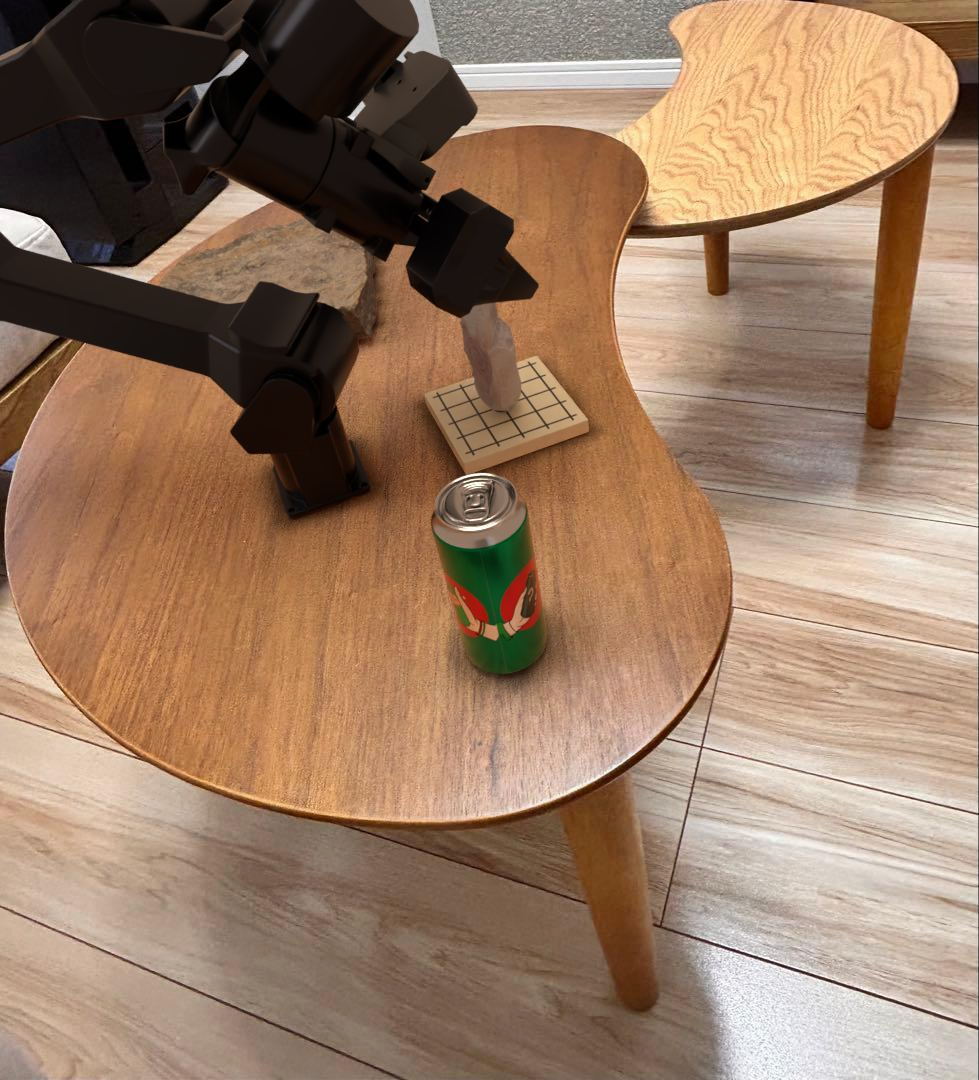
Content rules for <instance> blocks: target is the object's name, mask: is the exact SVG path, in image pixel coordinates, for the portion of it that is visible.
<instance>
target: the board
mask: <svg viewBox="0 0 979 1080" xmlns="http://www.w3.org/2000/svg"><path fill="white" fill-rule="evenodd" d="M516 364H517V367H518V371H519V376H520V379H521V395H520V398H519V400H518V402H517V403H516V404H515V405H514V406H513V407H512V408H511V409H510V410H509V411H497V410H492V409H491V408H490V407H488V406H487V405H486V404H485V403H484V402H483V401H482V400H481V398H480V397H479V395H478V393H477V391H476V388H475V384H474V380H475V379H474V377H473V376H472V377H469V378H466V379H463V380H460V381H458V382H455V383H452V384H448V385H445V386H443V387H440V388H436V389H434V390H431V391H427V392H425V393H424V394H423V396H424V400H425V405H426V407H427V409H428V411H429V412H430V414H431V416H432V418H433V419H434V421H435V423H436V425H437V427H438V428H439V430H440V432H441V434H442V435H443V437H444V439H445V440H446V443H447V444H448V446H449V447H450V449H451V451H452V453H453V455H454V456H455V458H456V460H457V462H458V463H459V465H460V467H461V469H462V471H463V472H464V475H469V474H474V473H479V472H480V471H483V470H486V469H488V468H491V467H495V466H497V465H500V464H503V463H506V462H508V461H511V460H514V459H517V458H520V457H522V456H525V455H528V454H532V453H533V452H536V451H539V450H542V449H545V448H548V447H550V446H554V445H556V444H559V443H561V442H564V441H567V440H569V439H573V438H577V437H579V436H582V435H585V434H587V433H589V432H590V427H589V419H588V417H587V416H586V415H585V414H584V412H583V411H582V410H581V409H580V408H579V406H578V405H577V404H576V402H575V401H574V400H573V398H572V397H571V396H570V395H569V394H568V392H567V391H566V390H565V389H564V387H563V386H562V385H561V384H560V382H559V381H558V380H557V378H555V376H554V375H553V374H552V372H551V371H550V370H549V368H547V366H546V365H545V364H544V362H543V361H542V360H541V358H540V357H539V356H538V355H534V356H531V357H528V358H526V359H522V360H519V361H516Z"/></svg>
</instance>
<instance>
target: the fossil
mask: <svg viewBox="0 0 979 1080" xmlns="http://www.w3.org/2000/svg"><path fill="white" fill-rule="evenodd" d="M498 311H499V310H498V307H497V303H489V304H483V305H478V306H473V308H472V310H471V312H470V313H469V314H468V315H466V316H464V317H462V318H460V321H459V325H460V328H461V331H462V332H461V334H462V341H463V351H464V353H465V355H466V357H467V360H468V362H469V363H468V364H469V365H470V367H471V369H472V370H471V371H472V377H474V379H475V380H474V384H475V388H476V391H477V393H478V395H479V397H480V398H481V400H482V401H483V402H484V403H485V404H486V405H487V406H488V407H490V408H491V409H492V410H497V411H509V410H510V409H511V408H512V407H513V406H514V405H515V404H516V403H517V402H518V400H519V398H520V395H521V379H520V376H519V371H518V367H517V364H516V362H517V355H516V345H515V338H514V336H513V332H512V331H511V328H510V326H509V325H508V324H507V323H506V322H505V321H504V320H503V317H501V316H499V313H498Z"/></svg>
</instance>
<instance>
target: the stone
mask: <svg viewBox="0 0 979 1080" xmlns="http://www.w3.org/2000/svg"><path fill="white" fill-rule="evenodd" d="M375 273H376V263H375V257H374V256H372V255H371V254H370V253H369V252H368V251H366V250H365V249H364V248H363V247H362V246H360V245H359V244H358V243H356V242H354V241H352V240H350V239H348V238H346V237H344V236H342V235H340V234H338V233H336V232H334V231H332V230H331V232H330V234H328V233H326V232H324V231H322V230H320V229H318V228H316V227H314V226H313V225H312V224H311V223H310V222H309V221H307V220H306V219H305V218H304V217H303V218H300V219H297V220H294V221H292V222H290V223H289V224H273V225H269V226H265V228H262V229H254V230H250V231H245V233H243V234H242V235H240V236H239V237H236V238H235V239H234V240H233V241H231V242H229V243H226V244H225V245H224V246H223V247H218V248H214V247H213V248H210V249H209V248H208V249H207V248H206V249H203V250H198V251H196V252H194V253H191V254H185V255H184V257H183V258H182V259H181V260H180V261H178V262H177V263H176V264H175V265H174V266H173V267H171V268H170V270H168V272H167V273H166V274H165V275H164V276H163V277H162V279H161V281H160V283H159V284H158V286H160V287H164V288H168V289H171V290H175V291H179V292H182V293H186V294H190V295H193V296H197V297H201V298H204V299H208V300H212V301H216V302H219V303H226V304H232V303H239V302H245V301H246V300H247V298H248V297H249V295H250V294H251V292H252V291H253V289H254V288H255V286H256V285H257V283H258V282H259V281H264V282H272V283H275V284H277V285H280V286H282V287H284V288H286V289H289V290H292V291H295V292H300V293H319V294H320V297H319V299H318V301H317V302H322V303H325V304H328V305H330V306H332V307H335V308H336V309H338V310H339V311H341V312H342V313H343V314H344V315H345V319H346V320H347V321H348V322H349V324H350V325H351V326H352V327H353V329H354V331H355V333H356V335H357V338H358V340H362V339H363V340H364V339H370V338H372V336H373V327H374V325H375V323H376V317H377V315H378V313H379V307H378V303H377V300H378V299H377V296H376V285H375V280H374V278H373V277H374V274H375Z"/></svg>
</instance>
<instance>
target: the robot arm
mask: <svg viewBox="0 0 979 1080" xmlns="http://www.w3.org/2000/svg"><path fill="white" fill-rule="evenodd" d="M419 32H420V22H419V17H418V14H417V12H416V10H415V7H414V5H413V3H412V1H411V0H73V1H72V2H71V3H69V4H68V5H67V6H66V7H65V8H63V10H62V11H61V12H59V13H58V14H57V15H56V16H55V17H54V18H52V19H51V20H50V21H49V22H48V23H47V24H45V25H44V26H43V28H42V29H41V30H40V31H39V32H38V33H37V34H36V35H35V37H33V39H31V40H30V41H28V42H26V43H23V44H21V45H20V46H18V47H16V48H13V49H11V50H9V51H7V52H5V53H3V54H1V55H0V147H4V146H6V145H8V144H10V143H13V142H15V141H18V140H20V139H22V138H25V137H27V136H30V135H32V134H34V133H37V132H39V131H42V130H44V129H46V128H49V127H51V126H54V125H56V124H58V123H61V122H64V121H70V120H76V119H82V118H85V119H91V120H99V121H112V120H117V119H119V120H120V119H126V118H132V117H139V116H145V115H151V114H155V113H159V112H162V111H164V110H166V109H167V108H168V107H170V106H172V105H173V103H175V102H176V101H177V100H178V99H180V97H182V95H184V94H185V93H186V92H187V91H188V90H189V89H190V88H191V87H194V86H199V85H203V84H204V85H205V84H208V83H210V85H209V86H208V88H207V89H206V91H205V92H204V94H203V95H202V97H201V98H200V100H199V101H198V102H197V104H196V106H195V107H194V108H193V110H192V111H191V112H189V114H187V115H186V116H185V117H183V118H180V119H179V120H176V121H170V122H169V121H168V122H165V123H163V125H162V142H163V145H162V146H163V154H164V155H165V157H166V158H167V159H168V160H169V162H170V164H171V165H172V169H173V170H174V172H175V176H176V178H177V182H178V185H179V188H180V189H179V190H180V192H181V193H182V195H184V196H187V197H191V196H193V195H195V194H196V192H198V190H199V188H201V185H202V184H203V183H204V182H205V180H206V179H207V177H208V176H209V175H210V173H212V171H213V172H215V173H217V174H219V175H220V176H223V177H225V178H227V179H229V180H231V181H233V182H235V183H237V184H239V185H241V186H243V187H245V188H246V189H250V190H251V191H253V192H255V193H257V194H259V195H261V196H263V197H265V198H267V199H269V200H271V201H273V202H275V203H276V204H279V205H281V206H283V207H285V208H286V209H289V210H291V211H293V212H295V213H296V214H299V215H300V216H301V217H303V218H305V219H306V220H307V221H309V222H310V223H311V224H312V225H313V226H314V227H316V228H318V229H320V230H322V231H324V232H326V233H328V234H330V232H331V230H332V231H334V232H336V233H338V234H340V235H342V236H344V237H346V238H348V239H350V240H352V241H354V242H356V243H358V244H359V245H360V246H362V247H363V248H364V249H365V250H366V251H368V252H369V253H370V254H371V255H372V256H373V258H377V259H378V260H380V261H383V262H384V263H387V260H388V259H389V257H390V255H391V252H392V250H393V249H394V247H395V245H397V246H405V247H411V248H412V247H413V250H412V252H411V254H410V256H409V257H408V260H407V262H406V263H405V270H406V274H407V278H408V282H409V286H410V287H411V288H412V289H413V290H414V291H416V292H417V293H419V295H421V296H422V297H423V298H424V299H425V300H426V301H428V302H429V303H430V304H431V305H433V306H434V307H435V308H437V309H438V310H441V311H443V312H445V313H447V314H450V315H452V316H454V317H456V318H457V319H461V318H462V317H464V316H466V315H468V314H469V313H470V312H471V310H472V308H473V306H478V305H483V304H489V303H496V304H497V303H505V302H506V303H507V302H516V301H525V300H531V299H533V298H534V296H535V294H536V292H537V291H538V289H539V286H540V285H539V282H538V281H537V280H536V279H535V278H534V277H533V276H532V274H530V273H529V272H528V270H526V269H525V267H524V266H522V264H521V263H520V262H519V261H518V260H517V259H516V258H515V257H514V256H513V255H512V254H511V252H510V251H509V250H508V249H507V246H508V244H509V242H510V240H511V239H512V238H513V237H512V236H513V235H514V234H515V219H514V218H512V217H510V216H509V215H507V214H506V213H504V212H502V210H499V209H498V208H496V207H494V206H493V205H491V204H490V203H487V202H486V201H485V200H483V199H481V198H480V197H478V196H476V195H474V194H473V193H471V192H469V191H468V190H466V189H464V188H463V187H458V188H456V189H453V190H452V191H448V192H446V193H444V194H442V195H440V198H439V200H437V199H436V198H434V197H433V196H431V195H429V194H428V193H426V192H425V191H427V190H428V189H429V187H430V185H431V183H432V181H433V179H434V177H435V175H436V173H437V170H435V169H434V168H432V167H430V166H429V165H428V164H425V163H424V162H426V161H427V160H429V159H431V158H432V157H434V156H435V155H436V154H437V153H438V152H439V151H440V150H441V149H442V148H443V147H444V146H445V145H446V144H447V143H448V142H449V141H450V140H451V139H452V137H453V136H454V135H455V134H456V133H457V132H459V130H461V128H462V127H467V126H468V125H470V123H471V122H472V121H473V120H475V117H476V116H477V114H478V110H479V106H478V105H477V103H476V101H475V100H474V98H473V97H472V95H471V94H470V92H469V90H468V88H467V87H466V85H465V84H464V82H463V80H462V79H461V77H460V76H459V74H458V73H457V71H456V69H455V68H454V66H453V65H452V63H451V61H450V60H449V59H447V58H443V57H441V56H438V55H436V54H433V53H431V52H428V51H427V50H419V51H417V52H411V51H409V50H407V51H406V52H405V53H404V54H403V52H404V51H405V49H407V47H408V46H409V45H410V44H411V43H412V41H413V40H414V38H415V37H416V36H417V35H418V34H419ZM243 52H244V53H245V54H246V55H247V57H246V58H245V60H244V61H243V62H242V63H241V64H240V66H239V67H238V68H237V69H235V70H234V71H233V72H232V73H230V74H226V75H225V74H224V75H220V76H218V75H219V74H221V73H222V72H223V71H224V70H225V69H226V68H227V67H228V66H229V65H230V64H231V63H232V62H233V61H235V60H236V58H238V56H240V55H241V54H242V53H243ZM402 54H403V57H404V59H405V61H404V62H402V61H400V60H398V58H399V57H400V55H402ZM217 76H218V77H217ZM361 103H363V104H364V106H363V108H362V109H361V110H360V111H359V113H358V114H357V115H356V116H355V117H354V119H352V118H350V116H351V115H352V114H353V113H354V112H355V110H357V108H358V106H360V104H361ZM319 297H320V294H319V293H300V292H295V291H292V290H289V289H286V288H284V287H282V286H280V285H277V284H275V283H272V282H264V281H259V282H258V283H257V285H256V286H255V288H254V289H253V291H252V292H251V294H250V295H249V297H248V298H247V300H246V301H245V302H239V303H232V304H226V303H219V302H216V301H212V300H208V299H204V298H201V297H197V296H193V295H190V294H186V293H182V292H179V291H175V290H171V289H168V288H164V287H160V286H159V285H156V284H153V283H150V282H145V281H142V280H138V279H134V278H130V277H126V276H123V275H120V274H115V273H112V272H108V271H105V270H100V269H97V268H93V267H91V266H87V265H83V264H79V263H75V262H71V261H68V260H64V259H60V258H58V257H57V258H56V257H53V256H51V255H50V256H49V255H46V254H42V253H39V252H35V251H31V250H28V249H24V248H21V247H18V246H16V245H15V244H14V243H12V241H11V240H10V239H8V237H7V236H6V235H4V234H3V232H2V231H0V322H4V323H8V324H11V325H15V326H20V327H23V328H27V329H30V330H34V331H37V332H41V333H45V334H49V335H52V336H57V337H60V338H64V339H67V340H70V341H76V342H78V343H83V344H85V345H90V346H93V347H97V348H101V349H105V350H109V351H112V352H116V353H120V354H124V355H127V356H131V357H135V358H138V359H142V360H146V361H150V362H153V363H157V364H161V365H164V366H169V367H173V368H176V369H179V370H184V371H187V372H191V373H195V374H198V375H202V376H205V377H207V378H209V379H210V380H211V381H212V382H213V383H215V384H216V385H217V386H218V387H219V388H220V390H222V391H223V392H224V393H225V394H226V395H227V396H228V397H229V398H230V399H231V400H232V401H233V402H234V403H235V404H236V405H237V406H238V407H240V408H242V410H241V411H240V414H239V415H238V416H237V419H236V420H235V422H234V424H233V425H232V427H231V428H230V431H229V433H230V435H231V436H232V437H233V438H234V440H235V442H237V443H238V444H239V446H240V447H241V448H242V449H243V450H244V451H245V452H246V453H247V454H249V455H269V456H270V459H271V461H272V463H273V466H272V472H273V475H274V477H275V482H276V485H277V489H278V493H279V495H280V498H281V502H282V505H283V508H284V512H285V514H286V516H287V518H288V519H290V520H291V519H292V520H293V519H297V518H299V517H302V516H305V515H308V514H310V513H314V512H316V511H319V510H322V509H324V508H327V507H330V506H333V505H336V504H339V503H342V502H345V501H347V500H350V499H353V498H356V497H360V496H362V495H364V494H367V493H370V492H371V490H372V484H371V481H370V479H369V476H368V474H367V472H366V469H365V467H364V465H363V463H362V461H361V457H360V455H359V453H358V451H357V448H356V447H355V444H354V441H353V440H351V439H349V438H348V435H347V432H346V429H345V425H344V422H343V420H342V416H341V413H340V409H339V408H338V405H337V403H338V401H339V400H340V399H339V398H340V396H341V394H342V392H343V390H344V389H345V386H346V383H347V382H348V379H349V377H350V375H351V374H352V373H351V372H352V371H353V368H354V367H355V364H356V362H357V360H358V356H359V353H360V343H359V342H360V341H359V339H358V338H357V335H356V333H355V331H354V329H353V327H352V326H351V325H350V324H349V322H348V321H347V320H346V319H345V315H344V314H343V313H342V312H341V311H339V310H338V309H336V308H335V307H332V306H330V305H328V304H325V303H322V302H317V301H318V299H319Z"/></svg>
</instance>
